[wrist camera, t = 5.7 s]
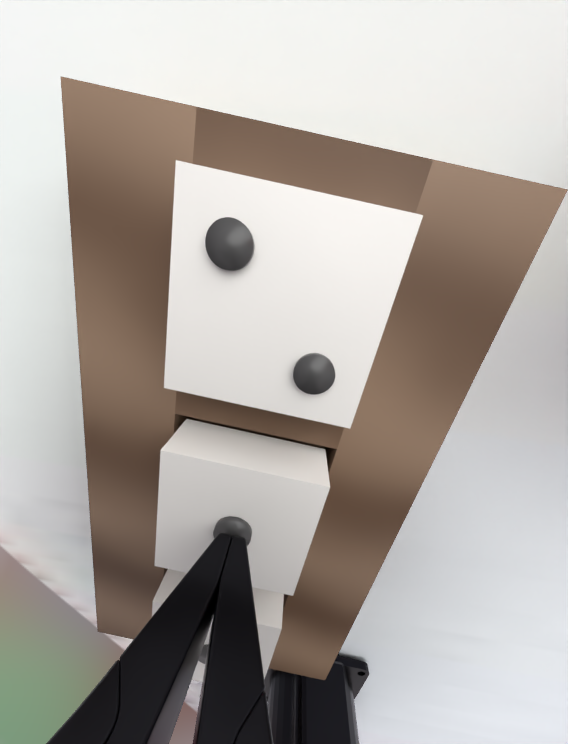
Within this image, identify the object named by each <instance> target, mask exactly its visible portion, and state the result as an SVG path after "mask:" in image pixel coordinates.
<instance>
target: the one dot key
mask: <svg viewBox="0 0 568 744" xmlns="http://www.w3.org/2000/svg"><path fill="white" fill-rule="evenodd" d="M329 489H330V481H329V473H328V466H327V458H326V450H325V449H323V448H318V447H313V446H309V445H304V444H300V443H295V442H290V441H286V440H281V439H277V438H272V437H268V436H263V435H258V434H254V433H249V432H245V431H240V430H236V429H231V428H226V427H222V426H217V425H213V424H208V423H204V422H199V421H194V420H190V419H186V420H185V421H184V423H183V424H182V425H181V426H180V427H179V429H178V430H177V431H176V432H175V433H174V435H173V436H172V437H171V438H170V439H169V441H168V442H167V443H166V444H165V445H164V447H163V448H162V449H161V451H160V471H159V490H158V509H157V528H156V547H155V566H157V567H162V568H166V569H171V570H176V571H180V572H185V573H187V572H188V571H189V570H190V569H191V567H192V566H193V565H194V564H195V562H196V561H197V560H198V559H199V557H200V556H201V555H202V554H203V552H204V551H205V550H206V549H207V547H208V546H209V545H210V544H211V542H212V541H213V540H214V539H215V537H216V536H217V535H218V534H219V533H225V534H230V535H232V537H233V536H239V537H244V538H245V539H246V543H247V551H248V559H249V566H250V574H251V582H252V587H254V588H259V589H263V590H268V591H273V592H277V593H282V594H287V595H291V596H293V595H294V592H295V589H296V586H297V583H298V580H299V577H300V574H301V571H302V568H303V565H304V562H305V560H306V557H307V554H308V551H309V548H310V545H311V542H312V539H313V536H314V533H315V530H316V527H317V524H318V522H319V519H320V516H321V513H322V510H323V507H324V504H325V501H326V498H327V495H328V492H329Z"/></svg>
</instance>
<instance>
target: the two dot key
mask: <svg viewBox="0 0 568 744" xmlns="http://www.w3.org/2000/svg"><path fill="white" fill-rule="evenodd" d="M422 218H423V215H420V214H416V213H411V212H407V211H402V210H398V209H393V208H389V207H384V206H380V205H375V204H371V203H366V202H362V201H357V200H353V199H348V198H344V197H339V196H335V195H330V194H326V193H321V192H317V191H312V190H308V189H303V188H299V187H294V186H290V185H286V184H281V183H277V182H272V181H268V180H263V179H259V178H254V177H250V176H245V175H241V174H236V173H232V172H227V171H223V170H218V169H214V168H209V167H205V166H200V165H196V164H191V163H187V162H182V161H178V160H176V165H175V184H174V203H173V222H172V241H171V261H170V280H169V299H168V318H167V337H166V356H165V375H164V388H167V389H171V390H176V391H181V392H185V393H190V394H194V395H199V396H203V397H208V398H213V399H217V400H222V401H226V402H231V403H235V404H240V405H244V406H249V407H254V408H258V409H263V410H267V411H272V412H276V413H281V414H286V415H290V416H295V417H299V418H304V419H308V420H313V421H318V422H322V423H327V424H331V425H336V426H340V427H345V428H349V429H350V428H351V425H352V422H353V419H354V416H355V413H356V410H357V408H358V405H359V402H360V399H361V396H362V393H363V390H364V387H365V384H366V381H367V378H368V375H369V372H370V370H371V367H372V364H373V361H374V358H375V355H376V352H377V349H378V346H379V343H380V340H381V337H382V334H383V332H384V329H385V326H386V323H387V320H388V317H389V314H390V311H391V308H392V305H393V302H394V299H395V296H396V294H397V291H398V288H399V285H400V282H401V279H402V276H403V273H404V270H405V267H406V264H407V261H408V258H409V256H410V253H411V250H412V247H413V244H414V241H415V238H416V235H417V232H418V229H419V226H420V223H421V220H422Z"/></svg>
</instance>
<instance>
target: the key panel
mask: <svg viewBox="0 0 568 744" xmlns="http://www.w3.org/2000/svg"><path fill="white" fill-rule="evenodd" d="M61 88H62V103H63V118H64V133H65V148H66V163H67V178H68V193H69V208H70V223H71V238H72V253H73V268H74V283H75V298H76V313H77V328H78V343H79V358H80V373H81V388H82V403H83V418H84V433H85V448H86V463H87V478H88V493H89V508H90V523H91V538H92V553H93V568H94V583H95V598H96V613H97V628H98V632H102V633H107V634H111V635H116V636H121V637H125V638H130V639H135V637H136V636H137V635H138V634H139V632H140V631H141V630H142V629H143V627H144V626H145V625H146V624H147V622H148V621H149V620H150V619H151V617H152V604H153V599H154V597H155V595H156V593H157V591H158V589H159V586H160V584H161V582H162V580H163V578H164V576H165V574H166V571H167V569H166V568H162V567H157V566H155V547H156V528H157V509H158V490H159V471H160V451H161V449H162V448H163V447H164V445H165V444H166V443H167V442H168V441H169V439H170V438H171V437H172V436H173V435H174V433H175V432H176V431H177V430H178V429H179V427H180V426H181V425H182V424H183V423H184V421H185V420H186V419H190V420H194V421H199V422H204V423H208V424H213V425H217V426H222V427H226V428H231V429H236V430H240V431H245V432H249V433H254V434H258V435H263V436H268V437H272V438H277V439H281V440H286V441H290V442H295V443H300V444H304V445H309V446H313V447H318V448H323V449H325V450H326V458H327V466H328V473H329V481H330V489H329V492H328V495H327V498H326V501H325V504H324V507H323V510H322V513H321V516H320V519H319V522H318V524H317V527H316V530H315V533H314V536H313V539H312V542H311V545H310V548H309V551H308V554H307V557H306V560H305V562H304V565H303V568H302V571H301V574H300V577H299V580H298V583H297V586H296V589H295V592H294V595H293V596H291V595H287V594H284V601H283V617H282V630H281V633H280V636H279V638H278V641H277V644H276V647H275V650H274V653H273V656H272V659H271V662H270V665H269V669H274V670H279V671H283V672H288V673H293V674H297V675H302V676H307V677H311V678H316V679H321V680H325V679H326V677H327V675H328V673H329V671H330V669H331V667H332V665H333V663H334V661H335V659H336V657H337V655H338V653H339V651H340V649H341V647H342V645H343V643H344V641H345V639H346V637H347V635H348V633H349V631H350V629H351V627H352V625H353V623H354V621H355V619H356V617H357V615H358V613H359V611H360V609H361V607H362V605H363V603H364V601H365V599H366V597H367V595H368V592H369V590H370V588H371V586H372V584H373V582H374V580H375V578H376V576H377V574H378V572H379V570H380V568H381V566H382V564H383V562H384V560H385V558H386V556H387V554H388V552H389V550H390V548H391V546H392V544H393V542H394V540H395V538H396V536H397V534H398V532H399V530H400V528H401V526H402V524H403V522H404V520H405V518H406V516H407V514H408V512H409V510H410V508H411V506H412V504H413V502H414V499H415V497H416V495H417V493H418V491H419V489H420V487H421V485H422V483H423V481H424V479H425V477H426V475H427V473H428V471H429V469H430V467H431V465H432V463H433V461H434V459H435V457H436V455H437V453H438V451H439V449H440V447H441V445H442V443H443V441H444V439H445V437H446V435H447V433H448V431H449V429H450V427H451V425H452V423H453V421H454V419H455V417H456V415H457V413H458V411H459V409H460V406H461V404H462V402H463V400H464V398H465V396H466V394H467V392H468V390H469V388H470V386H471V384H472V382H473V380H474V378H475V376H476V374H477V372H478V370H479V368H480V366H481V364H482V362H483V360H484V358H485V356H486V354H487V352H488V350H489V348H490V346H491V344H492V342H493V340H494V338H495V336H496V334H497V332H498V330H499V328H500V326H501V324H502V322H503V320H504V318H505V316H506V313H507V311H508V309H509V307H510V305H511V303H512V301H513V299H514V297H515V295H516V293H517V291H518V289H519V287H520V285H521V283H522V281H523V279H524V277H525V275H526V273H527V271H528V269H529V267H530V265H531V263H532V261H533V259H534V257H535V255H536V253H537V251H538V249H539V247H540V245H541V243H542V241H543V239H544V237H545V235H546V233H547V231H548V229H549V227H550V225H551V223H552V220H553V218H554V216H555V214H556V212H557V210H558V208H559V206H560V204H561V202H562V200H563V198H564V196H565V194H566V192H567V189H562V188H558V187H553V186H549V185H544V184H540V183H535V182H531V181H526V180H522V179H517V178H513V177H509V176H504V175H500V174H495V173H491V172H486V171H482V170H477V169H473V168H468V167H464V166H459V165H455V164H450V163H446V162H441V161H437V160H432V159H428V158H423V157H419V156H414V155H410V154H405V153H401V152H397V151H392V150H388V149H383V148H379V147H374V146H370V145H365V144H361V143H356V142H352V141H347V140H343V139H338V138H334V137H329V136H325V135H320V134H316V133H311V132H307V131H302V130H298V129H293V128H289V127H285V126H280V125H276V124H271V123H267V122H262V121H258V120H253V119H249V118H244V117H240V116H235V115H231V114H226V113H222V112H217V111H213V110H208V109H204V108H199V107H195V106H190V105H186V104H181V103H177V102H173V101H168V100H164V99H159V98H155V97H150V96H146V95H141V94H137V93H132V92H128V91H123V90H119V89H114V88H110V87H105V86H101V85H96V84H92V83H87V82H83V81H78V80H74V79H69V78H65V77H61ZM176 160H178V161H182V162H187V163H191V164H196V165H200V166H205V167H209V168H214V169H218V170H223V171H227V172H232V173H236V174H241V175H245V176H250V177H254V178H259V179H263V180H268V181H272V182H277V183H281V184H286V185H290V186H294V187H299V188H303V189H308V190H312V191H317V192H321V193H326V194H330V195H335V196H339V197H344V198H348V199H353V200H357V201H362V202H366V203H371V204H375V205H380V206H384V207H389V208H393V209H398V210H402V211H407V212H411V213H416V214H420V215H423V218H422V220H421V223H420V226H419V229H418V232H417V235H416V238H415V241H414V244H413V247H412V250H411V253H410V256H409V258H408V261H407V264H406V267H405V270H404V273H403V276H402V279H401V282H400V285H399V288H398V291H397V294H396V296H395V299H394V302H393V305H392V308H391V311H390V314H389V317H388V320H387V323H386V326H385V329H384V332H383V334H382V337H381V340H380V343H379V346H378V349H377V352H376V355H375V358H374V361H373V364H372V367H371V370H370V372H369V375H368V378H367V381H366V384H365V387H364V390H363V393H362V396H361V399H360V402H359V405H358V408H357V410H356V413H355V416H354V419H353V422H352V425H351V428H350V429H349V428H345V427H340V426H336V425H331V424H327V423H322V422H318V421H313V420H308V419H304V418H299V417H295V416H290V415H286V414H281V413H276V412H272V411H267V410H263V409H258V408H254V407H249V406H244V405H240V404H235V403H231V402H226V401H222V400H217V399H213V398H208V397H203V396H199V395H194V394H190V393H185V392H181V391H176V390H171V389H167V388H164V375H165V356H166V337H167V318H168V299H169V280H170V261H171V241H172V222H173V203H174V184H175V165H176Z"/></svg>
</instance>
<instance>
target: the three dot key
mask: <svg viewBox="0 0 568 744" xmlns="http://www.w3.org/2000/svg"><path fill="white" fill-rule="evenodd" d="M186 574H187V573H185V572H180V571H176V570H171V569H167V571H166V574H165V576H164V578H163V580H162V582H161V584H160V586H159V589H158V591H157V593H156V595H155V597H154V599H153V604H152V616H153V615H154V614H155V612H156V611H157V610H158V609H159V607H160V606H161V605H162V604H163V602H164V601H165V600H166V599H167V597H168V596H169V595H170V594H171V592H172V591H173V590H174V589H175V587H176V586H177V585H178V584H179V582H180V581H181V580H182V579H183V577H184V576H185V575H186ZM252 589H253V597H254V605H255V612H256V620H257V628H258V635H259V643H260V651H261V658H262V666H263V674H264V679H265V676H266V674H267V671H268V668H269V665H270V662H271V659H272V656H273V653H274V650H275V647H276V644H277V641H278V638H279V636H280V633H281V630H282V617H283V601H284V594H282V593H277V592H273V591H268V590H263V589H259V588H254V587H252ZM212 621H213V619H212ZM211 626H212V622H211V625H210V628H209V631H208V634H207V637H206V640H205V643H204V646H203V648H202V651H201V654H200V657H199V660H198V663H197V665H196V668H195V671H194V674H193V677H192V680H193V681H197V682H203V676H204V669H205V663H206V657H207V650H208V644H209V638H210V632H211Z"/></svg>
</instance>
